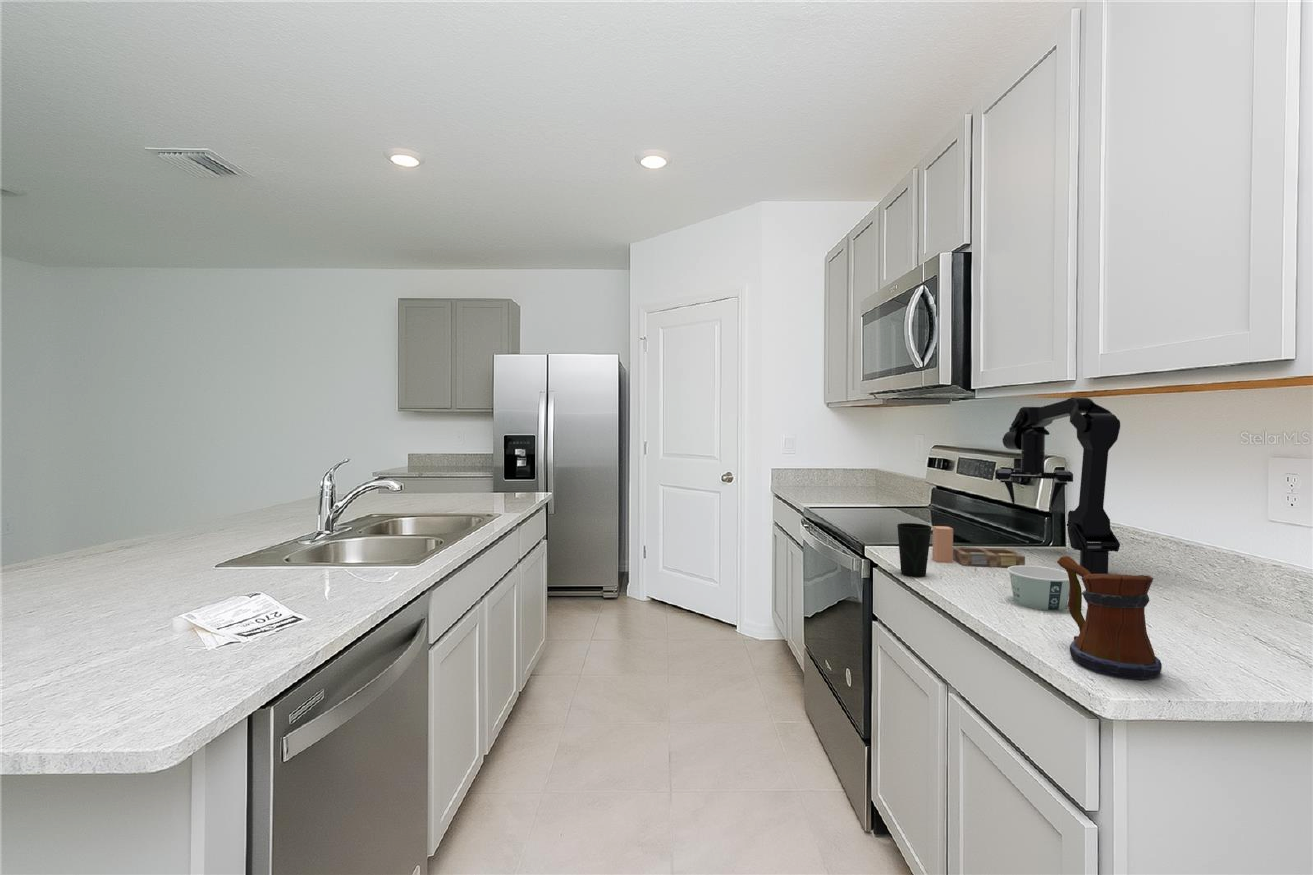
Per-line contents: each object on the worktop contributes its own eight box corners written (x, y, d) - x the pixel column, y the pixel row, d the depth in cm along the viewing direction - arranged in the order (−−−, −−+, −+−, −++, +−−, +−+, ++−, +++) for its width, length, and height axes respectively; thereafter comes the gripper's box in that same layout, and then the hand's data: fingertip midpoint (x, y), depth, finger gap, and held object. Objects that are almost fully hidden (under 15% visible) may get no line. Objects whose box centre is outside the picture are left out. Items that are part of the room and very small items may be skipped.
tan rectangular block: (952, 562, 161) (953, 529, 161) (936, 562, 162) (937, 528, 162) (947, 559, 165) (948, 526, 165) (932, 558, 166) (932, 526, 166)
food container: (996, 594, 132) (996, 564, 132) (1054, 596, 131) (1055, 566, 131) (1023, 611, 120) (1024, 578, 120) (1088, 613, 119) (1088, 580, 119)
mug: (1028, 637, 106) (1030, 551, 105) (1094, 637, 106) (1096, 552, 105) (1103, 681, 88) (1106, 578, 87) (1183, 682, 88) (1186, 579, 87)
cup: (889, 572, 151) (890, 524, 150) (912, 569, 154) (913, 522, 153) (913, 579, 144) (914, 529, 143) (937, 576, 147) (938, 527, 146)
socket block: (1025, 568, 155) (1025, 556, 155) (962, 565, 158) (962, 553, 158) (1008, 559, 166) (1009, 547, 165) (950, 557, 168) (950, 545, 168)
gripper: (1067, 450, 176) (1066, 504, 177) (994, 449, 185) (993, 500, 185) (1073, 451, 166) (1073, 508, 167) (995, 450, 175) (995, 504, 175)
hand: (1032, 505), depth 174 cm, fingers open, 9 cm apart
